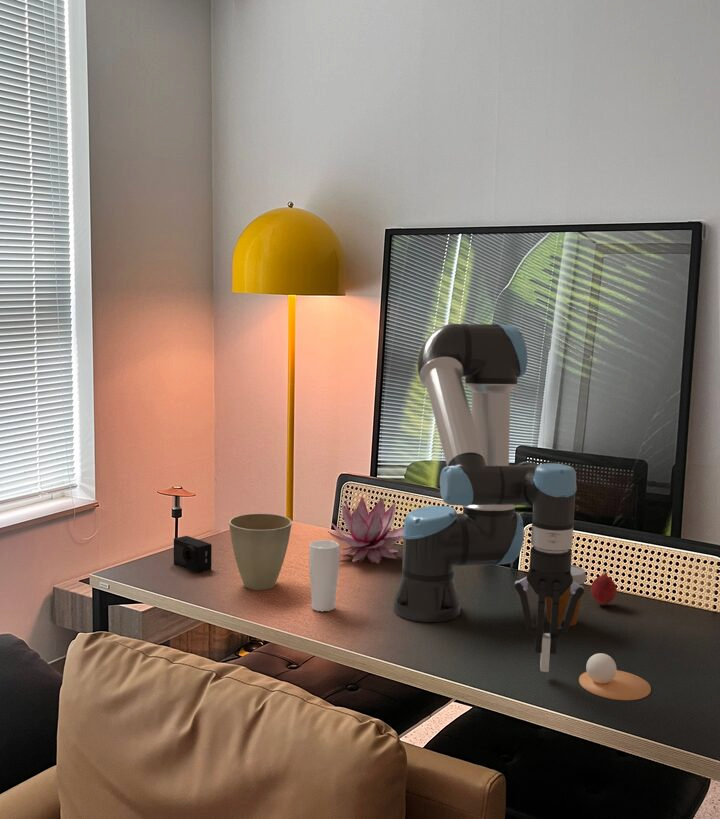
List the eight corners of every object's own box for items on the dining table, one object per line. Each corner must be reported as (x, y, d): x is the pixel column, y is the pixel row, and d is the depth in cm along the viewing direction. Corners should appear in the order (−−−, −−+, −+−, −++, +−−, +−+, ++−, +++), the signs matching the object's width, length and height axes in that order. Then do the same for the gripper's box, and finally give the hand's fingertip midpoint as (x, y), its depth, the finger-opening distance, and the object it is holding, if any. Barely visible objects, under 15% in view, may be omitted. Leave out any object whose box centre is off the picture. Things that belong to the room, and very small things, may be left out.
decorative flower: (408, 572, 237) (410, 514, 235) (325, 569, 237) (326, 512, 235) (406, 547, 258) (407, 495, 256) (329, 545, 258) (330, 492, 256)
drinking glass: (343, 606, 211) (344, 542, 209) (329, 615, 205) (331, 550, 203) (316, 601, 214) (318, 538, 212) (302, 610, 208) (304, 545, 205)
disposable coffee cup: (534, 614, 209) (537, 562, 208) (576, 614, 210) (579, 562, 208) (546, 630, 200) (549, 576, 198) (589, 629, 201) (593, 576, 199)
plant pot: (216, 590, 220) (217, 524, 217) (247, 572, 233) (248, 510, 231) (273, 599, 214) (274, 532, 212) (301, 580, 228) (302, 517, 226)
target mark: (581, 696, 168) (581, 695, 168) (576, 667, 181) (576, 666, 181) (655, 703, 166) (656, 702, 166) (645, 673, 179) (645, 672, 179)
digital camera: (169, 565, 237) (169, 538, 236) (186, 561, 241) (186, 535, 240) (194, 575, 230) (194, 547, 229) (211, 570, 234) (211, 543, 233)
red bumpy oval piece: (616, 610, 213) (618, 577, 212) (590, 608, 214) (592, 574, 213) (614, 602, 218) (616, 569, 217) (589, 600, 220) (591, 567, 218)
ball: (623, 683, 172) (595, 692, 171) (614, 672, 177) (586, 680, 177) (616, 656, 171) (587, 664, 171) (607, 645, 176) (579, 653, 176)
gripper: (515, 551, 169) (509, 673, 172) (589, 556, 167) (581, 680, 170) (515, 539, 176) (509, 657, 180) (585, 544, 174) (578, 663, 178)
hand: (544, 668), depth 175 cm, fingers closed
